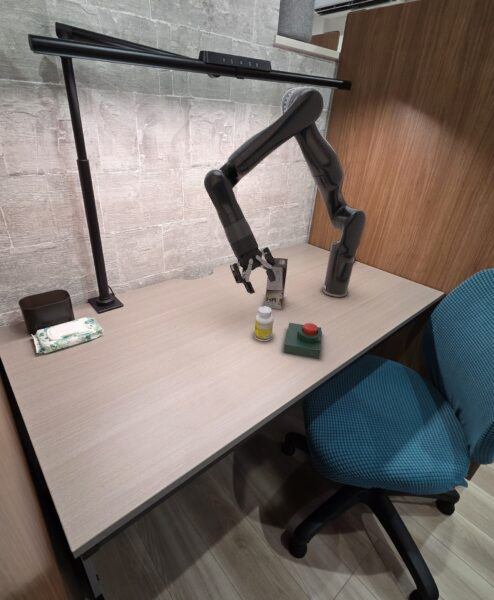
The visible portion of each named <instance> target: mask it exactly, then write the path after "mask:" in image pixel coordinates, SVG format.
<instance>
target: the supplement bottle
mask: <svg viewBox="0 0 494 600" xmlns="http://www.w3.org/2000/svg"><path fill="white" fill-rule="evenodd" d="M272 310H273V308H270V307H267V306H265V305H263V306H259V307H258V310H257V313H256V315H255V319H254V321H255V322H254V338H255V339H256V340H257V341H259V342H267V341H268V342H269V341H270V340H272V337H273V328H274V316H273V315H272V312H273V311H272Z"/></svg>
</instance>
